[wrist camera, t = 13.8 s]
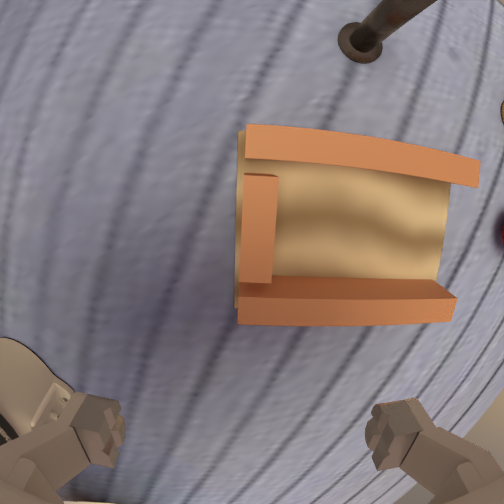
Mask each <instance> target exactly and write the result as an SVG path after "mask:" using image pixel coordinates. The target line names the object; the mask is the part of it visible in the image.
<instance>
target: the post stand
mask: <svg viewBox="0 0 504 504" xmlns="http://www.w3.org/2000/svg"><path fill="white" fill-rule="evenodd" d="M435 1H437V0H382V1H381V2H380V3H379V4H378V5H377V7H376V8H375V9H374V10H373V11H372V12H371V13H370V14H369V15H368V16H367V17H366V18H365V19H364V20H363V22H362V23H358V22H354V23H349V24H347V25H345V26H344V27H343V28H342V29H341V30H340V32H339V34H338V44H339V47H340V49H341V50H342V52H343V53H344V54H345V55H346V56H347V57H348V58H350V59H351V60H353V61H355V62H358V63H371V62H373V61H375V60H376V59H377V58H379V56H380V55H381V53H382V41H383V40H384V39H386V38H387V37H388V36H390V35H391V34H392V33H393V32H395V31H396V30H397V29H399V28H400V27H401V26H403V25H404V24H405V23H407V22H408V21H409V20H411V19H412V18H413V17H415V16H416V15H417V14H419V13H420V12H422V11H423V10H424V9H426V8H427V7H428V6H430V5H431V4H433V3H434V2H435Z"/></svg>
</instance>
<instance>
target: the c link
mask: <svg viewBox="0 0 504 504" xmlns="http://www.w3.org/2000/svg"><path fill="white" fill-rule="evenodd" d="M245 159H264V160H279V161H293V162H305V163H316V164H326V165H336V166H345V167H353V168H361V169H369V170H377V171H384V172H391V173H397V174H404V175H410V176H416V177H422V178H428V179H433V180H439V181H444V182H449V183H455V184H460V185H465V186H470V187H475V188H478V185H479V174H480V161H478V160H475V159H471V158H467V157H464V156H460V155H456V154H452V153H448V152H444V151H440V150H435V149H431V148H427V147H422V146H417V145H413V144H408V143H403V142H397V141H392V140H387V139H381V138H375V137H369V136H363V135H356V134H349V133H342V132H334V131H326V130H317V129H308V128H298V127H286V126H273V125H258V124H247V127H246V146H245ZM278 183H279V177H278V176H276V175H274V174H262V173H244V185H243V206H242V227H241V249H240V273H239V297H238V323H237V324H241V325H270V326H371V325H399V324H419V323H435V322H450V321H451V319H452V315H453V312H454V309H455V305H456V302H457V298H456V297H455V296H454V295H452V294H451V293H450V292H448V291H447V290H446V289H444V288H443V287H442V286H440V285H439V284H438V283H436V282H435V281H434V280H432V279H377V278H338V277H306V276H278V275H272V269H273V256H274V242H275V228H276V214H277V198H278Z"/></svg>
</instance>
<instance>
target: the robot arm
mask: <svg viewBox="0 0 504 504" xmlns="http://www.w3.org/2000/svg"><path fill="white" fill-rule="evenodd" d="M120 410H121V407H120V404H119V401H117V400H114V399H109V398H104V397H99V396H95V395H90V394H85V393H81V392H75V393H74V391H73V390H72V389H71V388H70V387H69V386H68V385H67V384H65V383H64V382H63V381H61V380H60V379H58V378H57V377H56V376H55V375H54V374H53V373H52V372H51V371H50V370H49V369H48V368H47V366H46V365H45V364H44V363H43V362H42V361H41V360H40V359H39V358H38V357H37V356H36V355H35V354H34V353H33V352H31V351H30V350H29V349H27V348H26V347H25V346H23V345H21V344H20V343H18V342H16V341H14V340H11V339H8V338H0V504H64V503H63V501H62V500H61V498H60V497H59V496H58V494H57V493H56V492H55V491H56V490H58V489H59V488H60V487H62V486H63V485H64V484H66V483H67V482H68V481H70V480H71V479H72V478H74V477H75V476H76V475H78V474H79V473H80V472H81V471H83V470H84V469H85V468H87V467H88V466H89V465H90V463H92V464H97V465H101V466H106V467H111V468H114V467H115V464H116V461H117V458H118V456H119V452H118V449H117V447H119V446H120V445H122V444H123V442H124V439H125V433H126V425H125V420H124V418H123V417H122V416H121V415H120V414H119V412H120ZM371 414H372V416H373V418H372V419H370V420H369V421H368V422H367V425H366V428H365V440H366V443H367V446H368V448H370V449H371V450H373V451H374V452H373V455H372V459H373V462H374V464H375V467H376V469H377V471H380V470H386V469H391V468H396V467H400V469H402V470H403V471H404V472H405V473H407V474H408V475H409V476H411V477H412V478H413V479H414V480H416V481H417V482H418V483H419V484H421V485H422V486H424V487H425V488H426V489H427V490H429V491H430V492H431V493H433V494H434V495H435V496H434V497H433V498H432V499H431V500H430V502H429V503H428V504H504V472H503V471H502V469H501V468H500V466H499V465H498V463H497V462H496V460H495V459H494V457H493V456H492V454H491V453H490V452H489V451H487V450H485V449H483V448H481V447H479V446H477V445H475V444H473V443H471V442H469V441H466V440H465V439H463V438H461V437H459V436H457V435H455V434H453V433H451V432H449V431H447V430H445V429H443V428H441V427H437V428H436V427H435V425H434V423H433V422H432V420H431V419H430V417H429V416H428V414H427V412H426V411H425V409H424V408H423V406H422V405H421V403H420V402H419V400H418V399H417V398H410V399H405V400H399V401H393V402H387V403H381V404H375V406H374V407H373V409H372V411H371Z"/></svg>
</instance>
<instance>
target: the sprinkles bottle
mask: <svg viewBox="0 0 504 504" xmlns="http://www.w3.org/2000/svg"><path fill="white" fill-rule="evenodd" d="M502 118H503V122H504V102H503V105H502Z"/></svg>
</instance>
